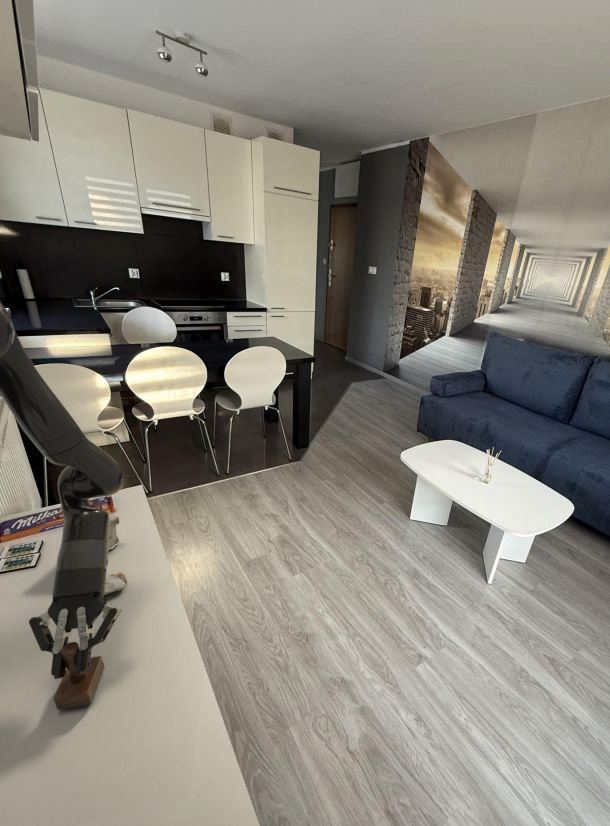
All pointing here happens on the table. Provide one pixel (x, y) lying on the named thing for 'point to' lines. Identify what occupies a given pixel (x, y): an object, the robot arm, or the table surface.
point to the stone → (115, 582)
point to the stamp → (77, 680)
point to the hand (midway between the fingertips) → (70, 675)
